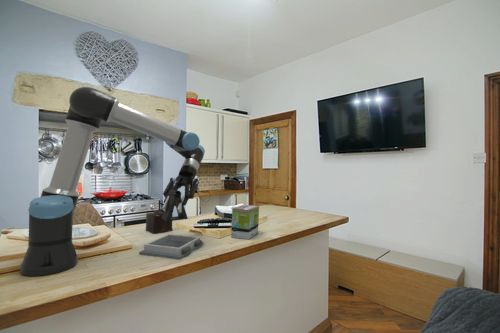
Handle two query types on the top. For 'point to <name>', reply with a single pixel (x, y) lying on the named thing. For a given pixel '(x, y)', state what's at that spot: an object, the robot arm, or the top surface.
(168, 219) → the dark grey triangular stand
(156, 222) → the dark brown handled box
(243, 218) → the tea box
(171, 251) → the tray
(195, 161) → the robot arm
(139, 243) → the top surface
